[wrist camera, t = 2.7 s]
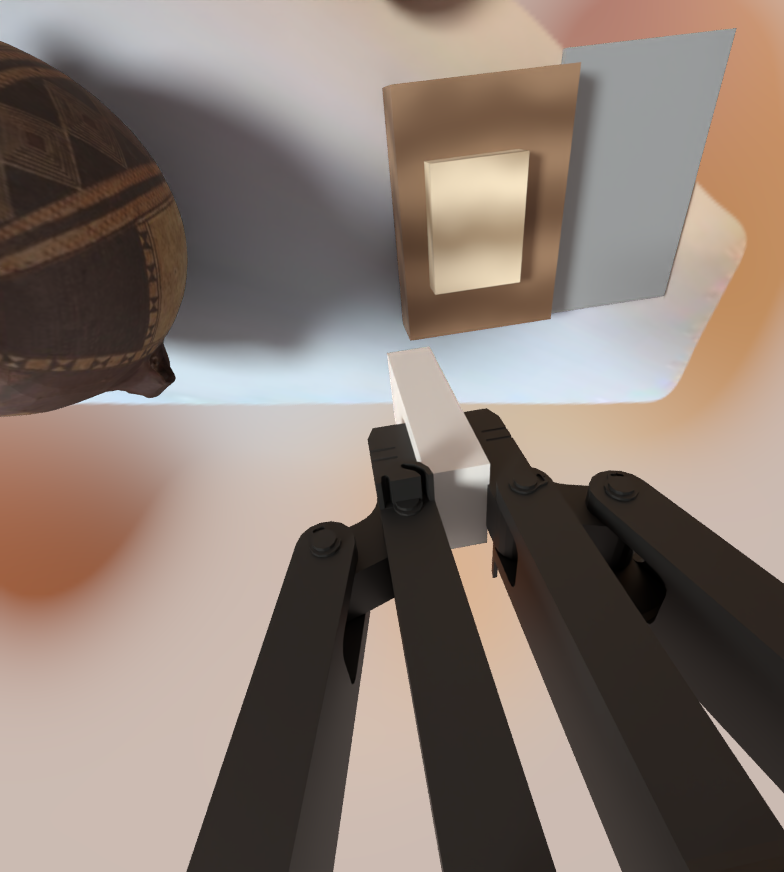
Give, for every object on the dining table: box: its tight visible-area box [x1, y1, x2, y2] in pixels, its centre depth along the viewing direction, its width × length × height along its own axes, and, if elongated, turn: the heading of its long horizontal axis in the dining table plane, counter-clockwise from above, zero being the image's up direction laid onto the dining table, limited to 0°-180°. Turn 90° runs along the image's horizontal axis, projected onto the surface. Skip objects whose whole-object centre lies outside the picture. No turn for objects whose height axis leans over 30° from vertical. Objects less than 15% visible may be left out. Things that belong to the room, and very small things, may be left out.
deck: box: [382, 62, 581, 341], centre depth 36 cm, size 18×13×4 cm
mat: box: [551, 28, 736, 313], centre depth 38 cm, size 20×13×1 cm, turn 6°
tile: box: [424, 149, 530, 295], centre depth 34 cm, size 9×7×2 cm
